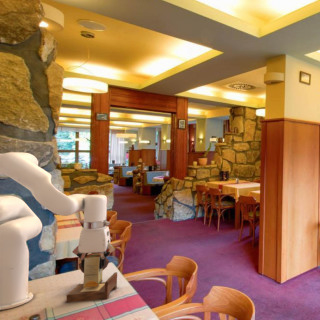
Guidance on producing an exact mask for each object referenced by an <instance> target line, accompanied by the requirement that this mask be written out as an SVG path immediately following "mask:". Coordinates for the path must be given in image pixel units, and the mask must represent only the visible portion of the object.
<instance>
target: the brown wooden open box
mask: <svg viewBox="0 0 320 320" xmlns="http://www.w3.org/2000/svg"><path fill="white" fill-rule="evenodd" d="M83 286H84V283H79V284H77V285H76V286H75V287H74V288H72V290H71V291H69V292H68V293H67V294H66V295H65V296H66V299H65V300H66V301H65V303H75V302H88V301H89V302H90V301H99V300H101V301H102V300H108V299H109V297H110V292H111V291H115V290H116V289H118V272H117V271H116V272H114V273H113V274H112V275H111V276H110V277H108V278H107V279H106V280H105V281H102V282H101V283H100V284H99V285H98V286H93V287H83Z"/></svg>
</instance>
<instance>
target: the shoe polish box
mask: <svg viewBox="0 0 320 320" xmlns="http://www.w3.org/2000/svg"><path fill="white" fill-rule="evenodd" d="M100 259H101V256H100V253H96V254H91V253H88V255H87V256H86V257H85V258H84V273H83V284H84V286H83V287H93V286H98V285H99V284H100V283H101V282H103V271H104V270H103V268H102V269H99V264H100ZM102 270H103V271H102Z"/></svg>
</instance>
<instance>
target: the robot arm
mask: <svg viewBox="0 0 320 320" xmlns="http://www.w3.org/2000/svg"><path fill="white" fill-rule="evenodd" d="M0 175H5V176H7V177H8V178H10V179H12V180H13V181H14V182H16V183H18V184H20V185H21V186H23V187H24V188H26V189H27V190H29V191H30V193H31V195H32V196H33V198H34V199H35V200H36V202H38V203H39V204H40V205H41V206H42V207H44V208H46V209H47V210H49V211H51V212H52V213H54V214H56V215H59V216H62V217H68V216H71V215H74V214H77V213H80V212H81V213H82V212H83V228H81V230H80V234H79V237H78V245H77V246H76V247H75V248H73V250H72V254H74V255H76V257H77V258H79V259H80V261H81V260H82V267H83V268H82V270H84V258H85V257H86V256H87V255H89V254H91V253H100V256H101V259H100V264H99V269H102V268H103V267H104V266H105V264H106V258H107V257H108V256H109V255H110V254H111V253H113V252H115V250H116V248H115V247H114V245H112V244H111V234H110V233H111V232H110V228H109V225H111V222H110V221H108V220H107V213H108V210H107V209H108V197H107V196H106V195H105V194H84V193H83V194H82V193H73V194H70V195H67V194H65V193H64V192H62V191H60V190H59V189H58V188H56V187H55V186H54V185H53V183H52V177H53V176H52V174H51V173H50V172H49V171H46V170H45V169H44V168H42V167H41V166H39V160H38V159H37V157H36V156H35V155H34V154H32V153H29V152H24V151H23V152H22V151H10V152H5V153H0ZM0 222H3V223H1V224H0V311H3V310H8V309H13V308H17V307H19V306H22V305H24V304H27V303H29V302H30V301H32V299H33V298H34V293H33V292H30V291H29V275H30V274H29V268H30V251H29V247H28V245H27V241H29V240H31V239H33V238H36V237H38V236H39V234H40V233H41V232H42V231H43V223H42V220H41V219H40V218H39V217H38V215H37V214H36V213H35V212H34V211H33V210H32V209H31V208H30V207H29V206H28V204H27V203H26V202H25V201H24V200H23V199H21V198H19V197H17V196H14V195H1V196H0ZM107 250H108V251H107Z"/></svg>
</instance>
